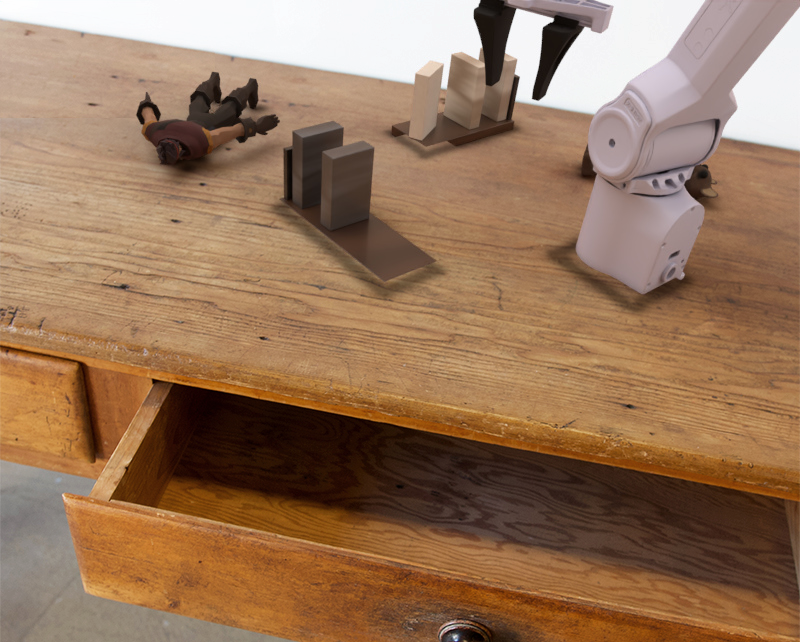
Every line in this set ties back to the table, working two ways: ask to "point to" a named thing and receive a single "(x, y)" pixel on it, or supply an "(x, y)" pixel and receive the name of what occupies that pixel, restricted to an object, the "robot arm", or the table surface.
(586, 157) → the bear figurine
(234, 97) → the figurine
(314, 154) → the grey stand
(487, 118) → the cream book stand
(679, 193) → the robot arm
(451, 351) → the table surface
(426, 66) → the cream wooden block
